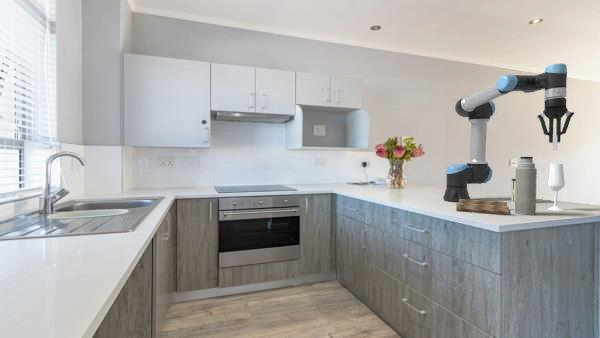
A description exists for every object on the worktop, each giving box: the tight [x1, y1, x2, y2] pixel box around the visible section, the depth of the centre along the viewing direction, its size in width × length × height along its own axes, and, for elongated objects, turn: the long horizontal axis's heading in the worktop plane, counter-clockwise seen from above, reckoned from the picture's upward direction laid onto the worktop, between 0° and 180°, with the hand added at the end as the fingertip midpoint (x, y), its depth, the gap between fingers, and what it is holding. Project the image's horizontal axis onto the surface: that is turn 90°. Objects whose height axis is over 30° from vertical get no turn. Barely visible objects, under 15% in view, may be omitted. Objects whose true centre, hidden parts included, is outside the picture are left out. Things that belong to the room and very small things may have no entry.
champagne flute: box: [547, 163, 566, 212], centre depth 148 cm, size 7×7×24 cm
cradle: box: [455, 199, 510, 216], centre depth 150 cm, size 22×18×4 cm
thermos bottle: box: [514, 156, 538, 216], centre depth 139 cm, size 8×8×28 cm
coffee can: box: [511, 178, 516, 203], centre depth 174 cm, size 10×10×14 cm
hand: (554, 149), depth 132 cm, fingers closed
